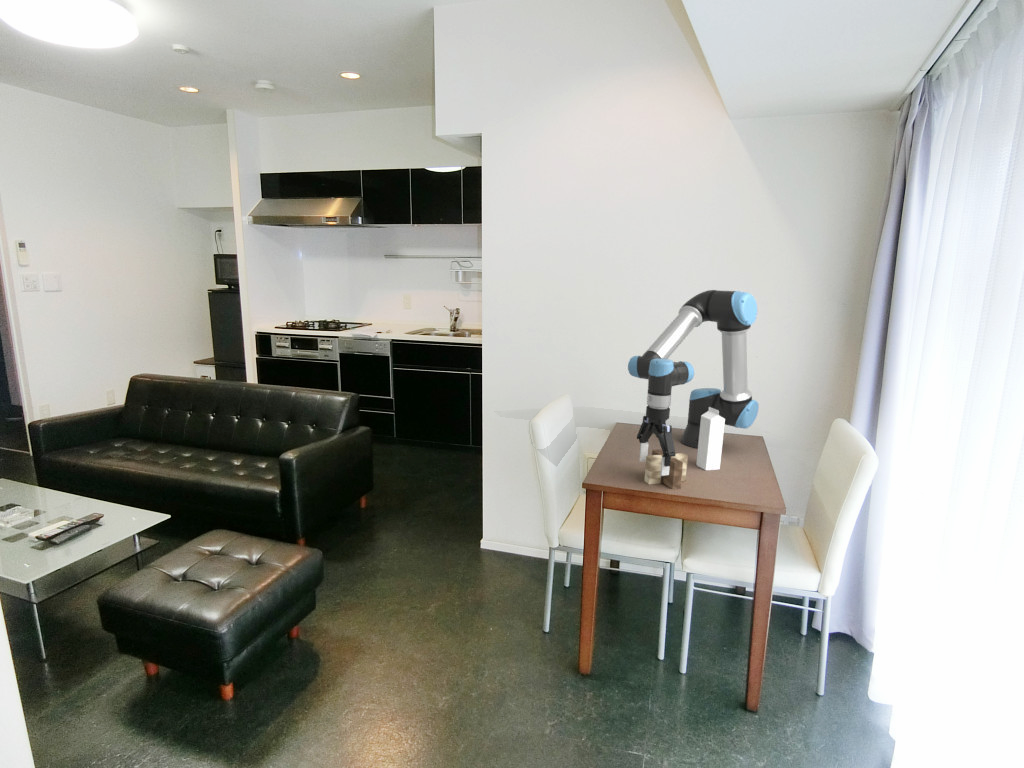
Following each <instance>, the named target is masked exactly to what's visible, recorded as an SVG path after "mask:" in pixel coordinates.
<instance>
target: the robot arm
mask: <svg viewBox="0 0 1024 768" xmlns="http://www.w3.org/2000/svg"><path fill="white" fill-rule="evenodd" d="M757 315H758V304H757V301H756V298H755V297H754V295H752V294H751V293H750V292H747V291H746V292H744V291H740V290H718V289H717V290H716V289H710V290H709V289H708V290H705V291H702V292H700V293H698V294H695V295H694V296H693V297H691V298H690V299H688V300H687V301H686V302H685V303H684V304H683V305H682V306H681V307H680V308H679V310H678V314H677V316H676V317H675V318H674V319H673V320H672V321H671V323H669V324H668V325H667V327H666V328H665V329H664V330H663V332H662V333H661V334H660V335H659V336H658V337H657V338H656V340H655V341H654V342H653V343H652V344H651V345H650V346H649V347H648V349H647V350H645V352H644V353H643V354H642V355H634V356H631V357H630V359H629V361H628V363H627V364H628V365H627V370H628V373H629V375H630V376H632V377H635V378H638V379H642V380H643V379H644V380H648V383H647V397H646V409H645V415H643V417H642V422H641V425H640V427H639V431H638V433H637V435H636V439H637V440H638V441H639V446H640V447H639V459H638V460H639V461H638V462H639V463H641V462H642V463H643V462H644V463H646V456H649V455H648V454H649V440H650V439H651V437H652V435H653V434H654V436H656V438H657V439H658V442H659V445H660V448H661V450H662V452H663V455H662V460H661V473H660V475H661V476H664V475H669V468H670V460H671V457H672V456H675V455H676V454H677V453H676V450H675V444H674V439H673V438H674V437H673V433H672V431H673V430H672V429H673V427H672V425H667V423H666V422H667V420H669V419H670V411H671V404H672V403H671V402H672V388H673V387H675V386H681V385H685V384H687V383H689V382H691V381H692V380H693V379H694V376H695V369H694V367H693V365H692V363H690V362H688V361H681V360H680V361H678V362H677V361H673V360H671V359H669V358H670V357H671V356H672V355H673V353H674V352H675V351H676V350H677V349H678V348H679V346H680V345H681V344H682V343H683V342H684V341H685V339H686V338H687V337H688V336H689V334H691V332H692V331H693V330H694V329H695V328H698V327H700V326H701V325H702V323H705V322H712V323H713V322H714V323H716V329H717V331H718V332H720V333H721V346H722V347H721V350H722V351H721V352H722V376H723V377H722V379H723V382H722V383H723V390H721V389H720V388H714V387H712V388H711V387H710V388H709V387H708V388H707V387H704V388H696V389H695V388H694V389H692V391H691V392H690V394H689V400H688V414H687V416H688V417H687V423H686V427H685V429H684V431H683V434H682V435H681V443H682V444H684V445H685V446H687V447H691V448H696V449H698V442H699V432H700V422H701V415H703V414H704V413H706V412H707V411H708V410H709V407H711V408H713V409H716V410H718V411H719V415H720V416H721V417H723V418H724V419H725V425H726V426H730V427H733V428H737V429H739V428H740V429H749V428H750V427H751V426H752V425H753V424H754V422H755V421H756V419H757V416H758V412H759V403H758V401H757V400H756V399H753V393H752V391H750V390H749V389H748V354H747V353H748V351H747V349H748V345H747V332H748V330H750V329H751V326H752V325H753V324H754V323H755V322H756V319H757ZM725 425H724V426H725Z"/></svg>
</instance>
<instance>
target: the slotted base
mask: <svg viewBox="0 0 1024 768" xmlns="http://www.w3.org/2000/svg"><path fill="white" fill-rule="evenodd" d="M651 455H663V452H662V449H658V448H657V449H652V450H651ZM682 468H683V462H682V461H680V460H678V459H676V458H671V460H670V468H669V475H664V476H661V484H664V485H665V486H667V487H668V488H669V489H671V490H677V489H680V490H681V487H682V481H681V478H682Z"/></svg>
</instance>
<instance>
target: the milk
mask: <svg viewBox="0 0 1024 768" xmlns="http://www.w3.org/2000/svg"><path fill="white" fill-rule="evenodd" d="M724 432H725V419H724V418H723V417H721V416H720V415H719V411H718V410H716V409H713V408H711V407H709V410H708V411H707V412H706V413H704V414H703V415H701V422H700V432H699V442H698V448H697V454H696V466H697V467H699V468H700V469H702V470H704V471H715V470H721V463H722V462H721V461H722V454H723V452H722V451H723V442H724Z"/></svg>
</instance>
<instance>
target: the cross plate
mask: <svg viewBox="0 0 1024 768" xmlns="http://www.w3.org/2000/svg"><path fill="white" fill-rule="evenodd" d="M675 454H676V455H675V456H672V457H671V458H676V459H678V460H680V461H682V462H683V468H682V478H681V482H686V479H687V478H686V477H687V467H688V456H689V455H687V454H685V453H683V452H680V453H675ZM661 460H662V455H652V454H651V455H648V456H646V461H645V470H644V480H643V481H644V482H645V483H646V484H648V485H658V484H662V482H661V475H660V473H661Z"/></svg>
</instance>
